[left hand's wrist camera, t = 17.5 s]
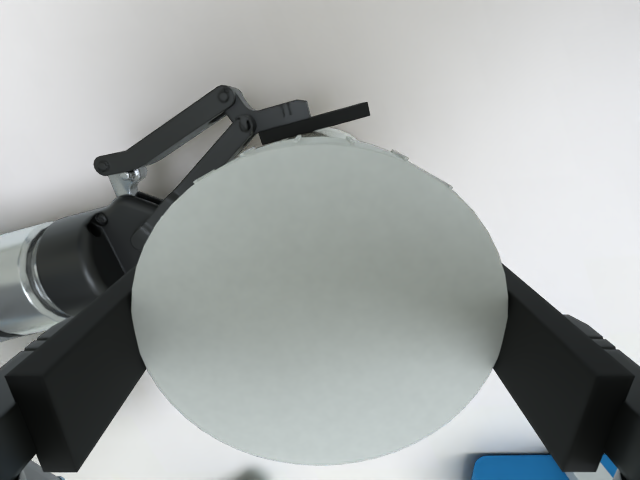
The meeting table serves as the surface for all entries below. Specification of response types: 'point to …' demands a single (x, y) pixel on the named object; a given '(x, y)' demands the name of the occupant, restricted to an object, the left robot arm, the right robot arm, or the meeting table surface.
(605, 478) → the logo
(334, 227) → the lid
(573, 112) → the meeting table surface
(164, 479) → the meeting table surface
